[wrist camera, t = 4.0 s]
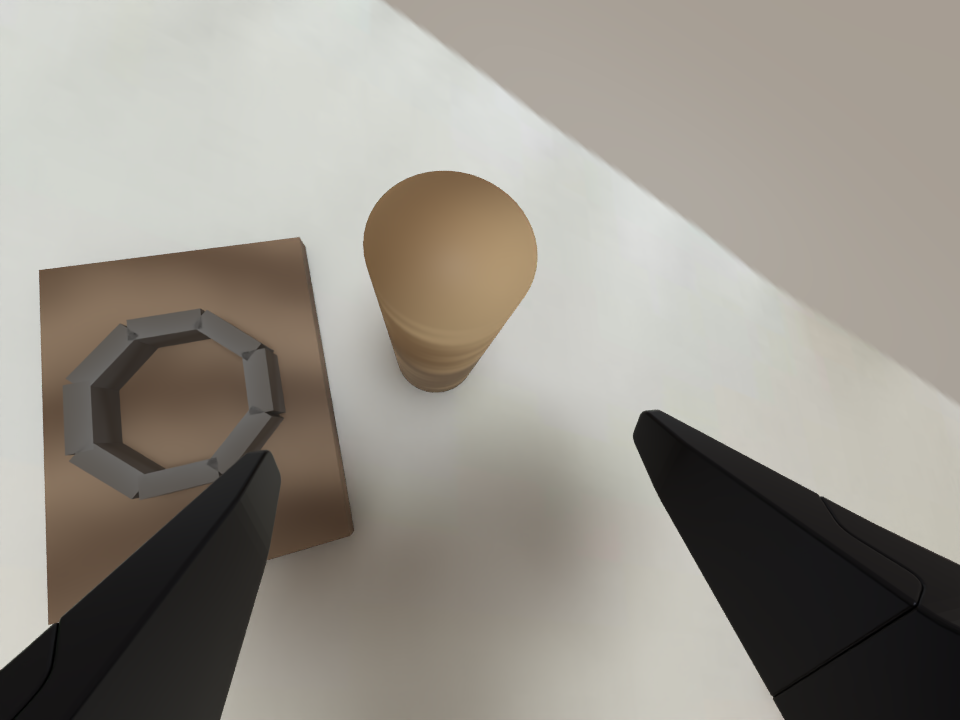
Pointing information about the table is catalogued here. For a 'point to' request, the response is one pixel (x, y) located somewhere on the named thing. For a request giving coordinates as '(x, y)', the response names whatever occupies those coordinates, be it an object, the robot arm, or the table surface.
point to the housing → (180, 401)
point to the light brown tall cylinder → (447, 271)
